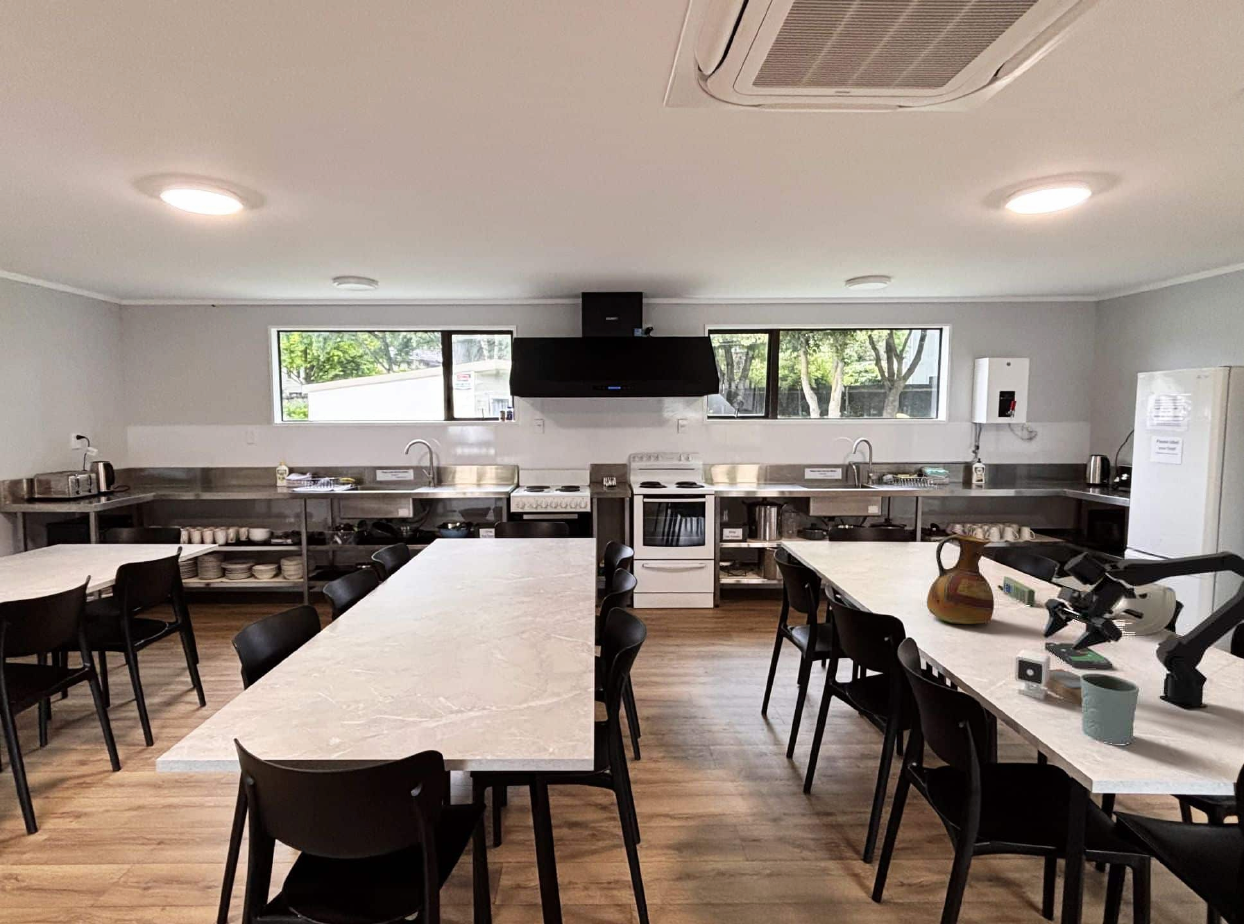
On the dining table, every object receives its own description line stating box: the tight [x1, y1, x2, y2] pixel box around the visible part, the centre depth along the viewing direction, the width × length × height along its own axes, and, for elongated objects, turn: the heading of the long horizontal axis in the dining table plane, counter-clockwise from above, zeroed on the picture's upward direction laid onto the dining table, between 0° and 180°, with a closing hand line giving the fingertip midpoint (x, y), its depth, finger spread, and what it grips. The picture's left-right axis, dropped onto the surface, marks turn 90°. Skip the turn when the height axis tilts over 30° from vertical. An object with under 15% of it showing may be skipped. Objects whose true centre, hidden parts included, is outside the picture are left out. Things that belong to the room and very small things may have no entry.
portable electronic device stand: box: [1051, 573, 1177, 636], centre depth 212 cm, size 26×24×16 cm
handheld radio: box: [997, 576, 1036, 607], centre depth 244 cm, size 7×3×25 cm
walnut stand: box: [1044, 668, 1082, 707], centre depth 158 cm, size 14×9×4 cm, turn 10°
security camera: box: [1014, 649, 1051, 700], centre depth 157 cm, size 6×7×10 cm
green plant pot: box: [1080, 673, 1140, 744], centre depth 136 cm, size 10×10×12 cm
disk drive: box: [1044, 641, 1114, 670], centre depth 181 cm, size 10×3×15 cm
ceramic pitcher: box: [926, 533, 995, 625], centre depth 215 cm, size 20×20×30 cm
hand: (1058, 642), depth 157 cm, fingers open, 9 cm apart
